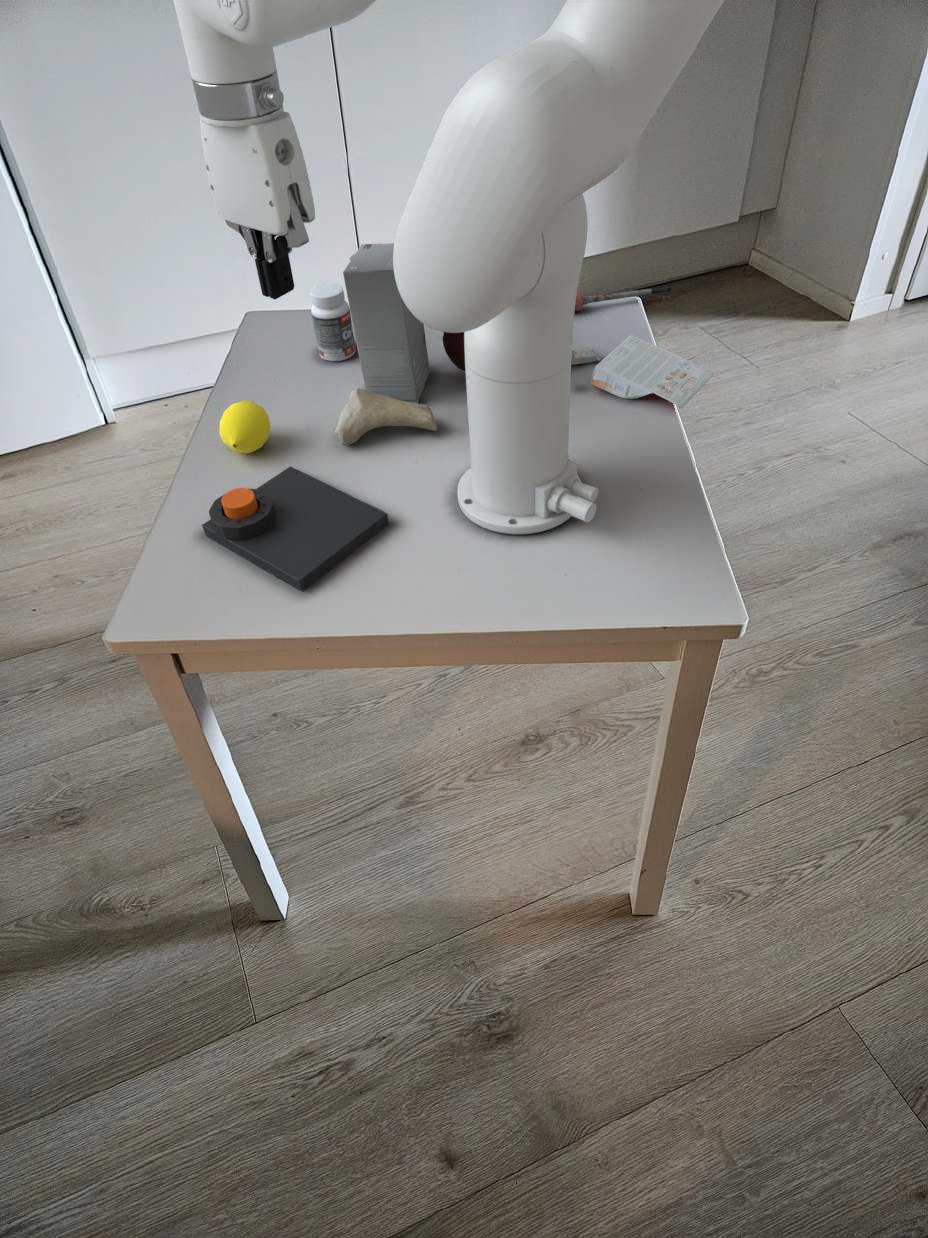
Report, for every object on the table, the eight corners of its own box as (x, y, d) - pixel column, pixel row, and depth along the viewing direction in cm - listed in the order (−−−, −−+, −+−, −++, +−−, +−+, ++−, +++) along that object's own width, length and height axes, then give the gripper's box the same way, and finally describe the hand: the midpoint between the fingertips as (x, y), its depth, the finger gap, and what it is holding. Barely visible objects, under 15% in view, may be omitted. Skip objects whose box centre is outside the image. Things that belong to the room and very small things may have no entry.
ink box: (625, 349, 107) (707, 391, 104) (588, 383, 102) (674, 428, 99) (631, 329, 105) (716, 371, 102) (594, 362, 100) (682, 408, 97)
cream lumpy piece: (338, 452, 96) (331, 414, 92) (333, 422, 100) (326, 385, 97) (438, 436, 97) (435, 398, 93) (429, 408, 101) (426, 370, 98)
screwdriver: (675, 303, 117) (666, 295, 120) (678, 281, 115) (668, 273, 118) (498, 327, 114) (492, 318, 116) (497, 305, 112) (491, 296, 114)
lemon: (238, 429, 100) (226, 387, 96) (283, 431, 99) (273, 389, 96) (216, 465, 95) (203, 422, 92) (263, 467, 95) (251, 425, 91)
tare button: (264, 507, 85) (261, 495, 84) (239, 524, 83) (236, 512, 82) (243, 496, 87) (239, 483, 86) (218, 512, 85) (214, 500, 84)
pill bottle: (353, 361, 110) (343, 297, 104) (317, 363, 110) (304, 299, 104) (357, 343, 113) (348, 280, 107) (322, 344, 113) (310, 282, 108)
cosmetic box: (418, 405, 102) (405, 272, 90) (359, 403, 103) (339, 270, 92) (432, 368, 108) (420, 239, 96) (376, 366, 109) (358, 238, 97)
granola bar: (596, 346, 107) (604, 359, 105) (594, 354, 108) (601, 367, 106) (543, 345, 106) (550, 359, 104) (541, 354, 106) (548, 368, 105)
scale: (389, 524, 86) (385, 500, 84) (301, 592, 80) (295, 568, 78) (292, 476, 93) (287, 453, 91) (204, 535, 87) (196, 512, 85)
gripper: (327, 96, 77) (355, 295, 90) (214, 75, 84) (255, 263, 97) (267, 120, 73) (305, 325, 86) (153, 96, 80) (204, 289, 93)
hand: (278, 292), depth 92 cm, fingers closed
